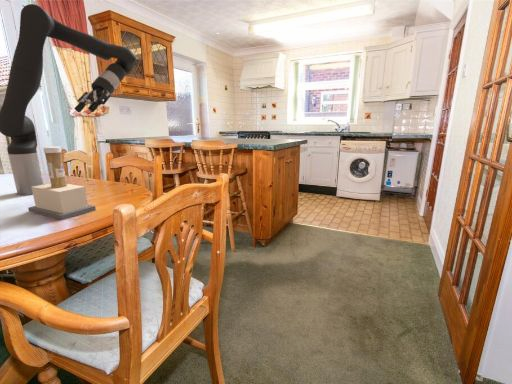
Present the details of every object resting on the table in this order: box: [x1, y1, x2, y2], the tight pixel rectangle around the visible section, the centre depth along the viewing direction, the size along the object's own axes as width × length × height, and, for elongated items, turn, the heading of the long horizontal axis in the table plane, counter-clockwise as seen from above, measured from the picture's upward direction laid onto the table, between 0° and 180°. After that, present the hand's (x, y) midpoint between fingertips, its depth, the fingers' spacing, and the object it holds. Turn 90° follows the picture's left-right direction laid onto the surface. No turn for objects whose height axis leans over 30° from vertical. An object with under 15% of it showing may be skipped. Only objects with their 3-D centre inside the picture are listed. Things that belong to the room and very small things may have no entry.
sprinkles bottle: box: [42, 145, 68, 188], centre depth 87 cm, size 5×5×14 cm
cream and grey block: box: [27, 182, 97, 221], centre depth 89 cm, size 19×11×9 cm, turn 65°
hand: (83, 110), depth 103 cm, fingers open, 8 cm apart
